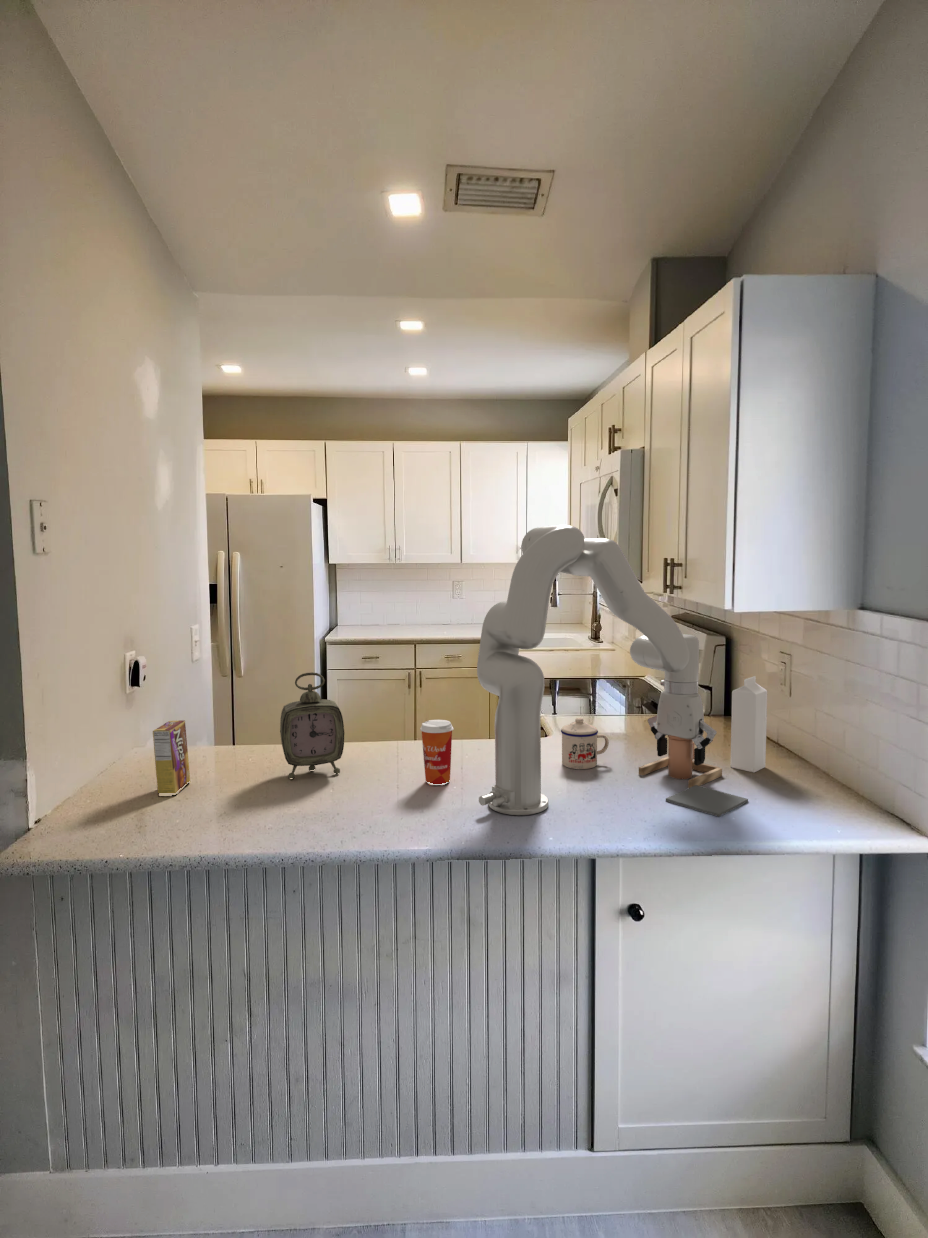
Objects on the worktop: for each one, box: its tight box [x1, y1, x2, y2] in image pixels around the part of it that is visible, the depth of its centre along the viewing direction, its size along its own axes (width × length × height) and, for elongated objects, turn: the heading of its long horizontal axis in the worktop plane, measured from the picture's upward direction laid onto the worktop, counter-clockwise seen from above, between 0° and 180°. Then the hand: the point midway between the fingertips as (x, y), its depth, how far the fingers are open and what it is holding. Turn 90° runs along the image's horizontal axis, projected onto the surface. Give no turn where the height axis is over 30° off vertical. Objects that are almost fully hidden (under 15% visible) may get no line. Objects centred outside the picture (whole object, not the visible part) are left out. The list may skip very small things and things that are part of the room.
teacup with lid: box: [560, 717, 610, 770], centre depth 172 cm, size 12×9×12 cm
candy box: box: [152, 719, 191, 794], centre depth 158 cm, size 9×4×15 cm, turn 0°
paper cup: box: [419, 719, 454, 784], centre depth 160 cm, size 8×8×14 cm
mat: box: [665, 785, 749, 817], centre depth 146 cm, size 12×12×1 cm
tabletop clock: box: [279, 671, 345, 779], centre depth 167 cm, size 14×9×25 cm, turn 108°
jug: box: [667, 735, 695, 780], centre depth 163 cm, size 8×6×10 cm
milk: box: [730, 675, 768, 773], centre depth 167 cm, size 6×6×22 cm
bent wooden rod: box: [638, 756, 723, 789], centre depth 163 cm, size 14×14×2 cm
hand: (680, 759), depth 162 cm, fingers open, 9 cm apart
